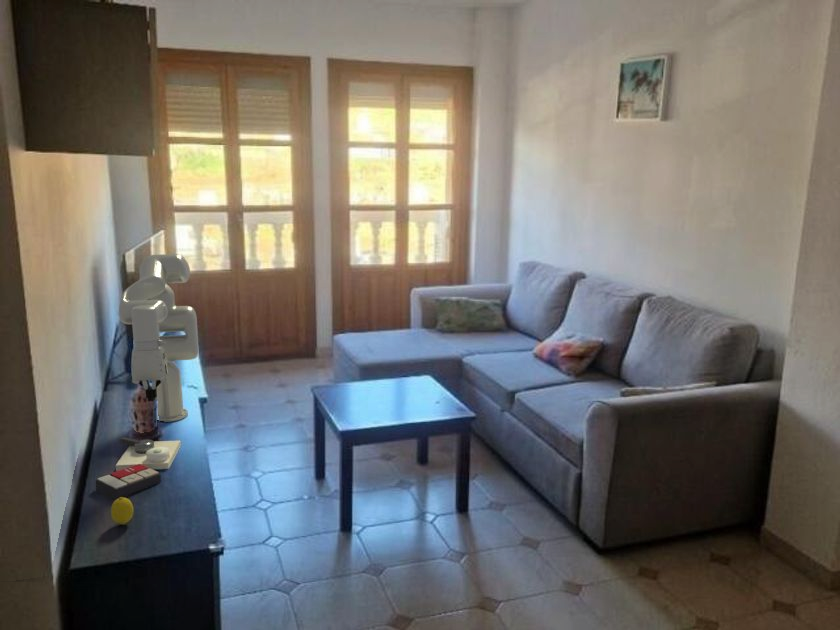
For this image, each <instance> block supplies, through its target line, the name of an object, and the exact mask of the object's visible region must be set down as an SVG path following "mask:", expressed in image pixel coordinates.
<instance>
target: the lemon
mask: <svg viewBox="0 0 840 630" xmlns="http://www.w3.org/2000/svg"><path fill="white" fill-rule="evenodd" d="M110 515H111V518H112V520H113V522H115V523H116V524H120V525H123V526H125V525H126V523H129V521H131V519H132V518H133V516H134V505H133V503H132V501H131V500H130V499H129V498H127V497H124V498H123V497H120V498H118V499H117V500H114V501H113V503H112V505H111V509H110Z"/></svg>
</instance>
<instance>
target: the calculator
mask: <svg viewBox="0 0 840 630" xmlns="http://www.w3.org/2000/svg"><path fill="white" fill-rule="evenodd" d="M161 482H162V473H160V472H159V471H156V469H150V468H148V467H146V466H144V465H141V464H138V465H135V466H132V467H128V468H125V469H122V470H119V471H116V470H115V471H114V472H111V473H110V474H107V475H104V476H100V477H98V478H97V479H95V491H97V493H100V494H102V495H104V496H105V497H108V498H109V499H112V500H114V501H115V500H117V499H118V498H120V497H123V498H127V497H128V496H130V495H132V494H134V492H135V493H137V492H139V491H138V490H140V491H142V490H141V489H143V490H145V489H147V488H150V487H152V486H154V485H157V484H160V483H161ZM149 486H150V487H149ZM146 487H147V488H146ZM144 488H145V489H144ZM136 491H137V492H136ZM129 494H130V495H129ZM127 495H128V496H127Z"/></svg>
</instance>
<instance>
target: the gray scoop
mask: <svg viewBox="0 0 840 630" xmlns="http://www.w3.org/2000/svg"><path fill="white" fill-rule="evenodd" d="M119 441H120V442H119V443H120V445H122V446H127V447H129V446H131V447H135V452H136V453H139V454H144V453H146V452H147V451H148V450H149V449H152V448H154V442H155V441H154V440H153V439H141V440H139V439H138V440H137V439H134V438H130V437H129V438H128V437H125V436H123V437H120V438H119Z"/></svg>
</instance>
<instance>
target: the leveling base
mask: <svg viewBox="0 0 840 630" xmlns="http://www.w3.org/2000/svg"><path fill="white" fill-rule="evenodd" d="M180 446H181V447H182V443H181V440H161V441H160V440H159V441H157V440H155V441H154V448H152V449H149V450H148V451H147V452H146V453H144V454H139V453H136V452H135V447H131V446H127V449H126V450H125V451H124V453H123V454H122V455H121V457H120V459H119V460H118V461H117V463H116V464H115V472H116V471H119V470H122V469H125V468H128V467H132V466H135V465H138V464H141V465H144V466H146V467H148V468H150V469H153V470H169V469H170V467H171V465H172V463H173V461H174V460H175V458H176V456H177V455H178V452H179V451H178V450H180V449H181V447H180ZM179 448H180V449H179Z"/></svg>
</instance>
